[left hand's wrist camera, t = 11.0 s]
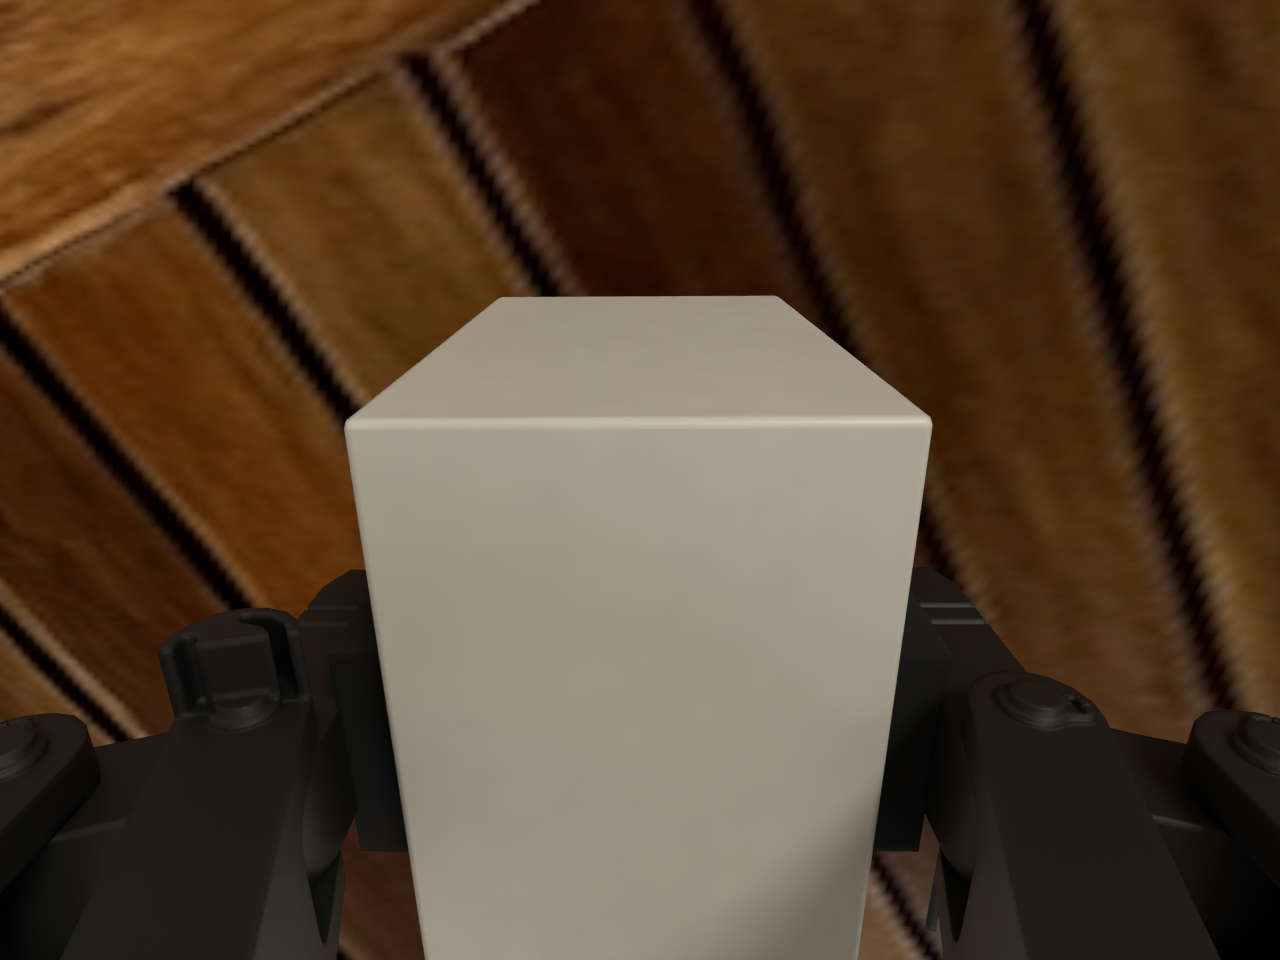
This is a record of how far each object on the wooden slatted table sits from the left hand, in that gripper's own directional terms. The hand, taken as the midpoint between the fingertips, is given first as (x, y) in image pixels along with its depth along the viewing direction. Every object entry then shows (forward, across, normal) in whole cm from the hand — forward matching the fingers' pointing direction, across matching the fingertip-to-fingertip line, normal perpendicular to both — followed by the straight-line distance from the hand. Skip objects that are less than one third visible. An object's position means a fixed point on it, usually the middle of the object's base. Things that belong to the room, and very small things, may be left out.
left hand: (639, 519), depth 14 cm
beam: (+1, 0, +13) cm, 13 cm away
